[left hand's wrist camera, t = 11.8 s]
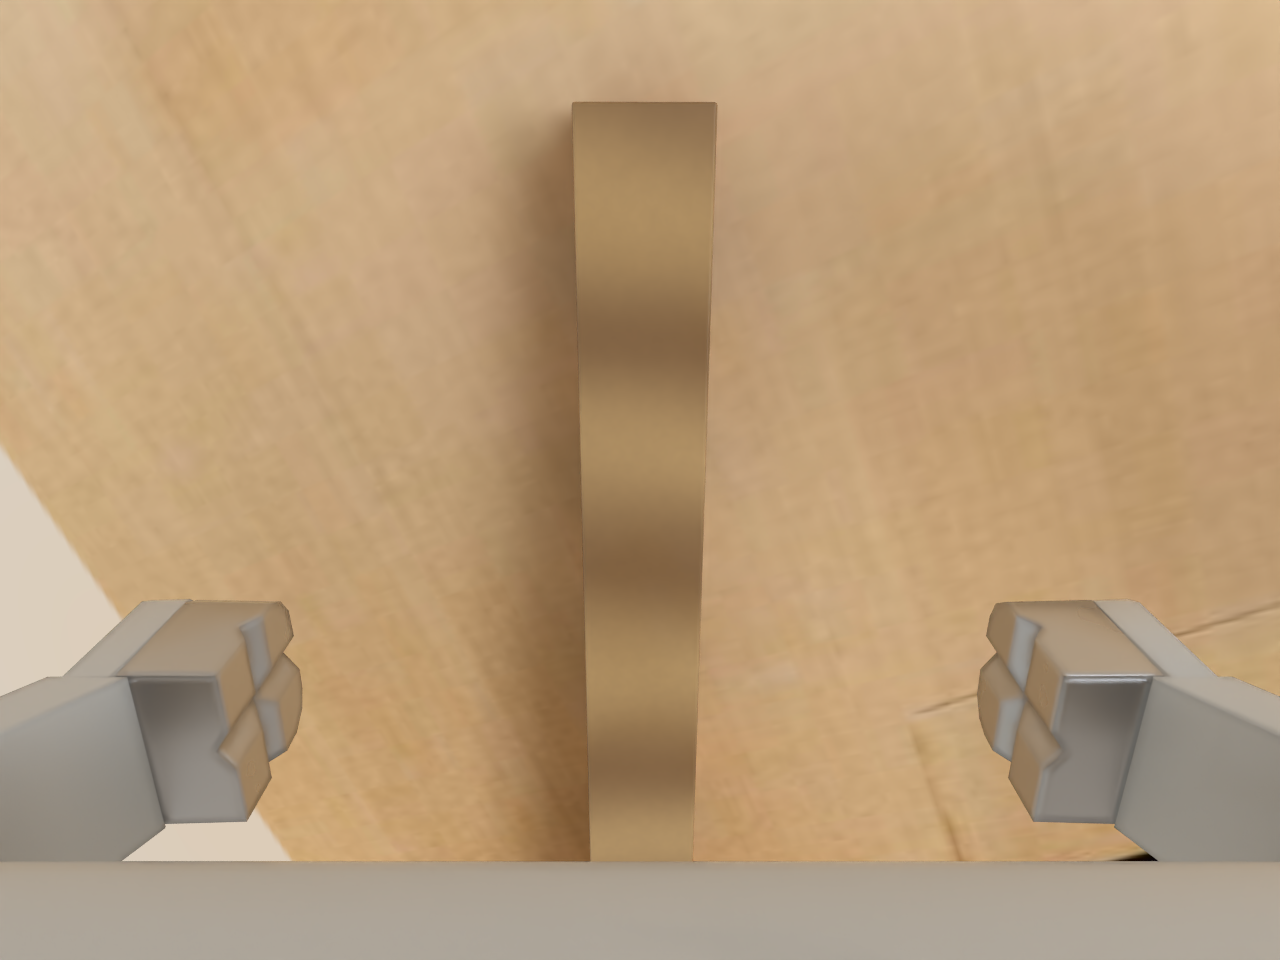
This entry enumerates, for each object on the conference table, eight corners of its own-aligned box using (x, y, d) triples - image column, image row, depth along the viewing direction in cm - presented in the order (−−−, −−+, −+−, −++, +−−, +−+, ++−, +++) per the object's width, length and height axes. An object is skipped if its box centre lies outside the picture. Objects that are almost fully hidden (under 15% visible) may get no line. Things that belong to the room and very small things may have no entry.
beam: (582, 105, 33) (571, 101, 27) (703, 105, 33) (717, 102, 27) (601, 1038, 52) (597, 1151, 46) (678, 1038, 52) (683, 1151, 46)
